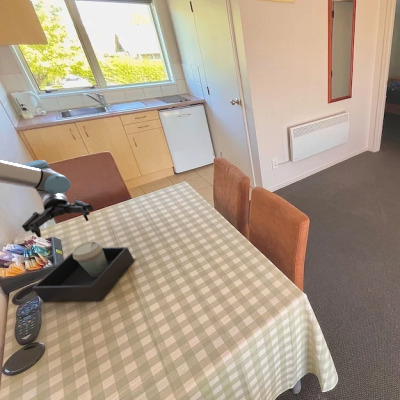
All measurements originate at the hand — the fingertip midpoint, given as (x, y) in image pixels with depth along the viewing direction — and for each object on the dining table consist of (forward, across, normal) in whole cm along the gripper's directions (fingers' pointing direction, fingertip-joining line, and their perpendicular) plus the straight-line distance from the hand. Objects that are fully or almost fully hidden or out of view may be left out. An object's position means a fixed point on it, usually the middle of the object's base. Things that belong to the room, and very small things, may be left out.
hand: (62, 225), depth 96 cm
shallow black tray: (+11, 0, -19) cm, 22 cm away
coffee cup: (+10, -3, -18) cm, 21 cm away
